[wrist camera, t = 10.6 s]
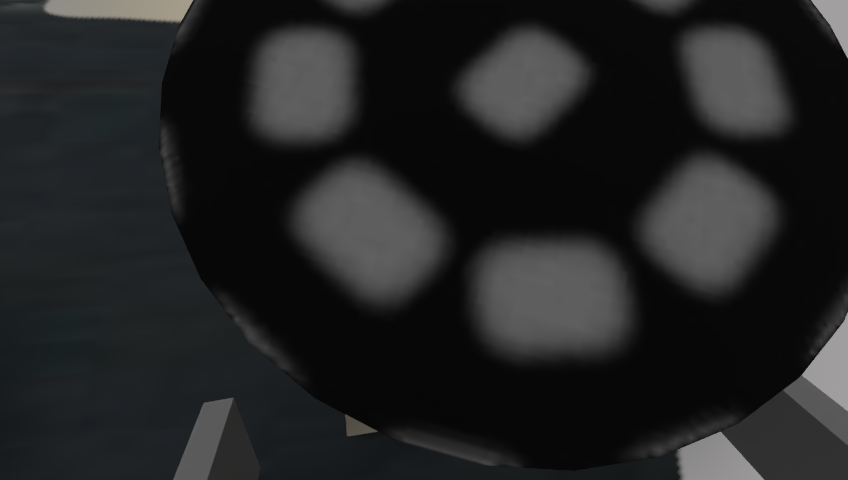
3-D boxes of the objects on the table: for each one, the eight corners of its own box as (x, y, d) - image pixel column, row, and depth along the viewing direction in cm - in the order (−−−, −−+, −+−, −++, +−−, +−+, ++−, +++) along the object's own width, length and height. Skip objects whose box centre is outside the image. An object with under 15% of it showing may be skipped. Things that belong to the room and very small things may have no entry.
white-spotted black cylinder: (426, 221, 26) (483, -227, 7) (539, 319, 25) (988, 76, 6) (321, 327, 24) (4, 84, 5) (436, 442, 22) (606, 718, 3)
